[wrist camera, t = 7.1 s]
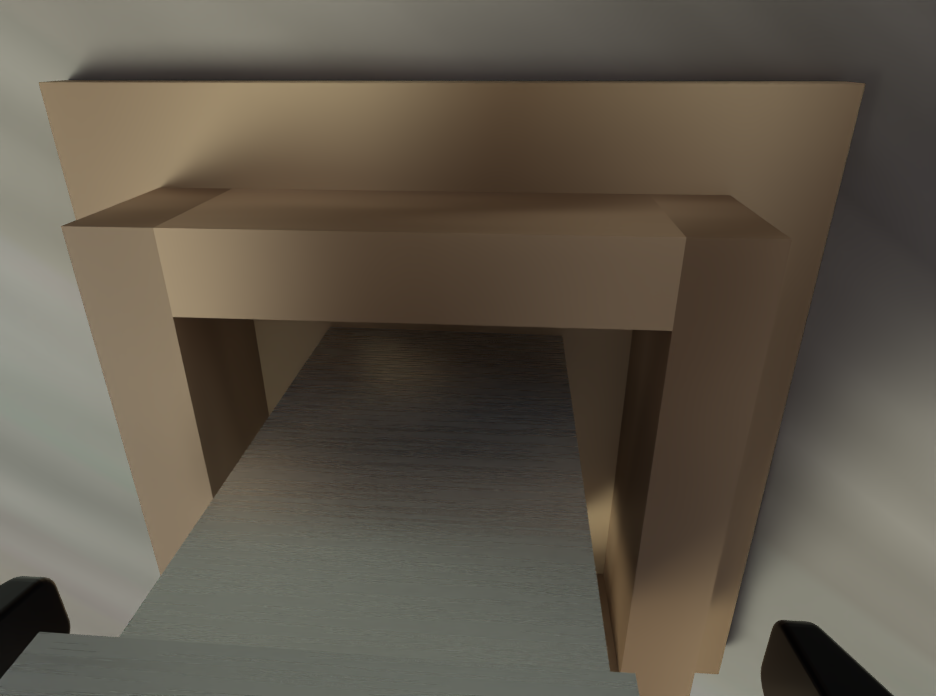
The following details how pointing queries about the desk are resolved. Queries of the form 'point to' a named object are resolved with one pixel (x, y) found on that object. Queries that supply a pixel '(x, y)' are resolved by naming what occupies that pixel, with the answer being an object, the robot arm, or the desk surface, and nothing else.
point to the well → (472, 285)
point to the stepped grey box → (377, 542)
